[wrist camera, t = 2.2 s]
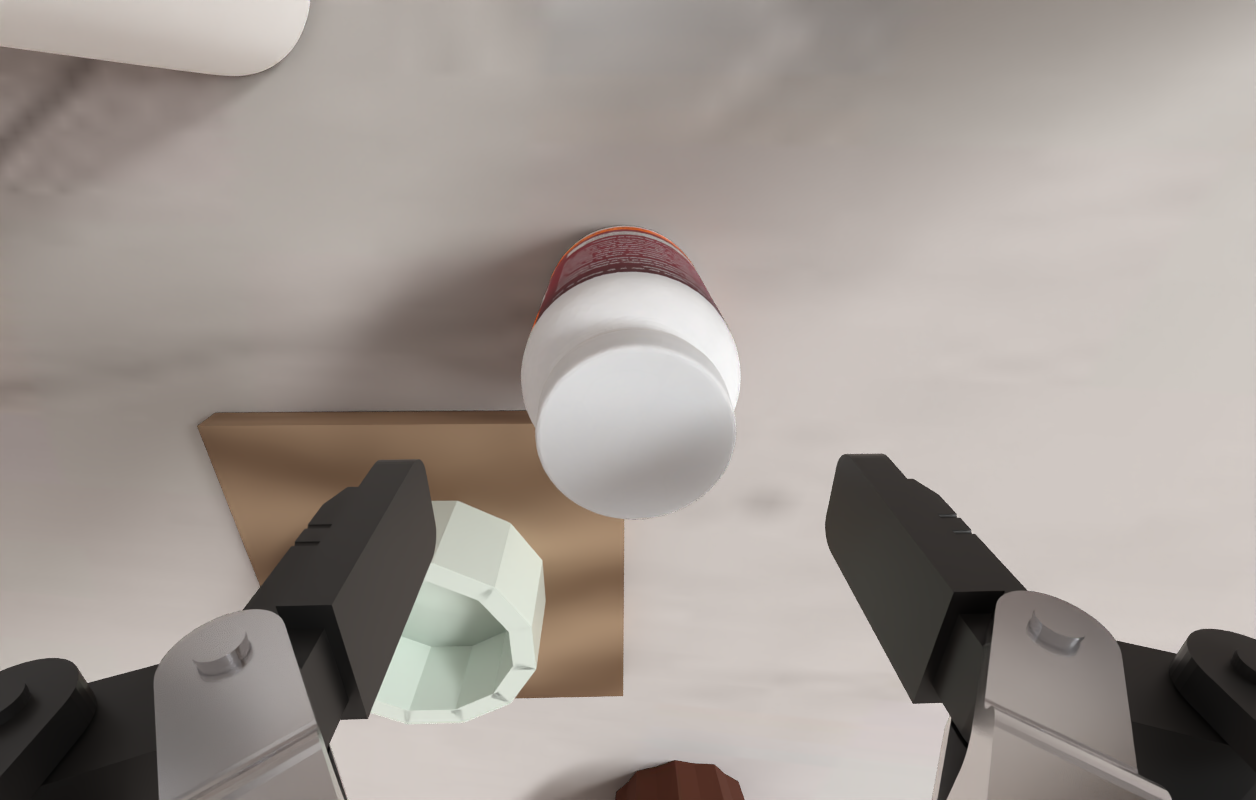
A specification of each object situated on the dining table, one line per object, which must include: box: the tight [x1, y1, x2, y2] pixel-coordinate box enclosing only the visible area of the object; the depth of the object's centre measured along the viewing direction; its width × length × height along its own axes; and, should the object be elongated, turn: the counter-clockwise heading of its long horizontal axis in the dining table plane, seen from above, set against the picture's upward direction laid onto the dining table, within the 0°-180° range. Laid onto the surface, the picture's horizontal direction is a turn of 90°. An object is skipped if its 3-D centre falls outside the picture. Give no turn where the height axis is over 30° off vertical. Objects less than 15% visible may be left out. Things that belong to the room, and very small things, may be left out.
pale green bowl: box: [370, 501, 546, 724], centre depth 25 cm, size 10×10×4 cm
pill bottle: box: [521, 226, 741, 520], centre depth 17 cm, size 6×6×11 cm
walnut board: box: [197, 411, 624, 698], centre depth 28 cm, size 18×18×1 cm
